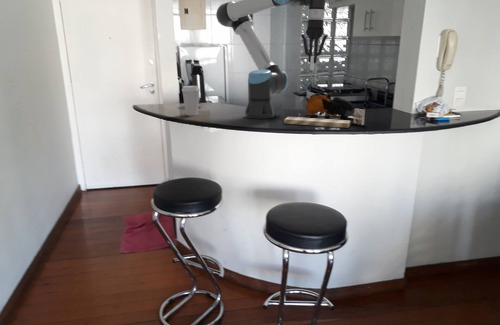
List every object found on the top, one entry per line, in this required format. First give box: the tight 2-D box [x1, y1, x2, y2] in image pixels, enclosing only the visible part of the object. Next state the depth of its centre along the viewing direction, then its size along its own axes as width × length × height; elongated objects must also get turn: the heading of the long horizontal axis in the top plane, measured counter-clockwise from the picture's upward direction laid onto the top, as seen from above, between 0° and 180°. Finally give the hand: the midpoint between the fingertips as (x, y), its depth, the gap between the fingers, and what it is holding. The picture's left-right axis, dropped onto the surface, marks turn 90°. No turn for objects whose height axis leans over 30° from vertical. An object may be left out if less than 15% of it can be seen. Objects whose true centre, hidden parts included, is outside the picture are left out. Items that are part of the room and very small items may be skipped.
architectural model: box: [347, 108, 366, 126], centre depth 181 cm, size 3×7×7 cm, turn 42°
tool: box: [305, 92, 354, 118], centre depth 201 cm, size 8×23×15 cm, turn 73°
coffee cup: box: [181, 85, 201, 117], centre depth 205 cm, size 10×10×15 cm
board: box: [283, 116, 351, 129], centre depth 182 cm, size 30×7×2 cm, turn 70°
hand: (311, 69), depth 191 cm, fingers closed
